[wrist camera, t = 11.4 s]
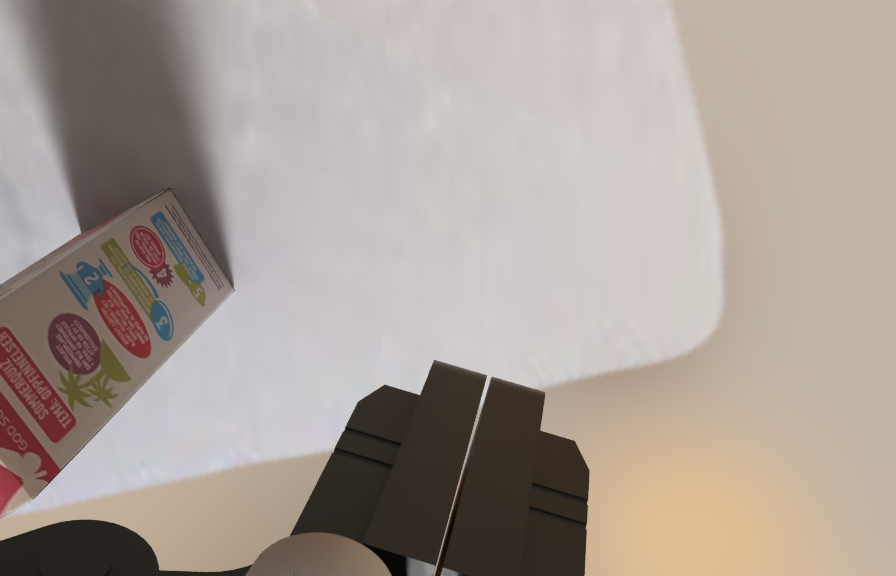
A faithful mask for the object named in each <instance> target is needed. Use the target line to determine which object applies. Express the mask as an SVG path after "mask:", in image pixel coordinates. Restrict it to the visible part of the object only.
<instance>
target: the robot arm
mask: <svg viewBox="0 0 896 576" xmlns="http://www.w3.org/2000/svg"><path fill="white" fill-rule="evenodd" d="M486 378H487V375H484V374H481V373H477V372H474V371H470V370H467V369H464V368H460V367H457V366H453V365H450V364H447V363H443V362H440V361H436V360H434V362H433V364H432V367H431V369H430V372H429V374H428V377H427V379H426V382H425V385H424V387H423V390H422V392H421V395H417V394H414V393H411V392H407V391H404V390H401V389H397V388H394V387H390V386H387V385H384V386H382V387H381V388H379V389H377V390H376V391H374V392H373V393H371V394H370V395H368V396H366V397H365V398H363V399H362V400H360V401H359V402H358V403H357V405H356V407H355V409H354V411H353V413H352V415H351V417H350V419H349V421H348V423H347V425H346V427H345V431H344V432H343V433H342V435H341V437H340V439H339V441H338V443H337V445H336V447H335V450H334V453H332V455H331V456H330V459H329V461H328V463H327V465H326V466H325V468H324V470H323V472H322V474H321V476H320V478H319V480H318V482H317V484H316V486H315V488H314V490H313V492H312V494H311V496H310V498H309V500H308V502H307V504H306V506H305V508H304V509H303V511H302V513H301V515H300V517H299V519H298V521H297V523H296V525H295V527H294V529H293V531H292V533H291V535H290V536H289V537H287V538H284V539H281V540H279V541H277V542H276V543H274V544H272V545H270V546H269V547H268V548H267V549H265V550H264V551H263V552H262V553H261V554H260V556H259V557H258V558H257V559H256V560H255V562H254V563H253V564H252V565H249V566H247V567H243V568H239V569H235V570H229V571H222V572H187V571H160V570H159V565H158V561H157V557H156V555H155V553H154V551H153V550H152V548H151V547H150V545H149V544H148V543H147V542H146V541H145V540H144V539H143V538H142V537H141V536H139V535H138V534H137V533H135V532H133V531H131V530H129V529H128V528H126V527H123V526H120V525H118V524H115V523H109V522H105V521H99V520H72V521H65V522H59V523H56V524H52V525H48V526H45V527H42V528H39V529H36V530H32V531H30V532H26V533H23V534H21V535H17V536H14V537H11V538H8V539H5V540H2V541H0V576H433V574H434V570H435V567H436V563H437V559H438V556H439V552H440V548H441V544H442V541H443V537H444V533H445V530H446V526H447V522H448V519H449V515H450V511H451V507H452V503H453V500H454V496H455V493H456V489H457V485H458V481H459V478H460V474H461V470H462V467H463V463H464V459H465V456H466V452H467V448H468V444H469V441H470V437H471V433H472V430H473V426H474V422H475V418H476V415H477V411H478V407H479V404H480V400H481V396H482V393H483V389H484V385H485V381H486ZM544 399H545V392H542V391H539V390H536V389H532V388H529V387H525V386H522V385H519V384H515V383H512V382H508V381H505V380H502V379H498V378H495V377H492V378H491V381H490V384H489V387H488V390H487V394H486V397H485V400H484V404H483V407H482V410H481V414H480V417H479V421H478V424H477V427H476V431H475V434H474V437H473V441H472V444H471V447H470V451H469V455H468V458H467V461H466V464H465V468H464V471H463V474H462V478H461V482H460V485H459V489H458V492H457V495H456V499H455V502H454V506H453V510H452V514H451V517H450V521H449V525H448V528H447V532H446V536H445V540H444V543H443V547H442V551H441V555H440V558H439V562H438V566H437V570H436V573H435V576H584V575H585V554H586V531H587V530H586V525H587V511H588V505H587V501H588V490H589V469H588V467H587V465H586V463H585V461H584V459H583V457H582V455H581V453H580V451H579V449H578V447H577V445H576V443H575V441H573V440H570V439H566V438H563V437H559V436H556V435H553V434H549V433H546V432H543V431H540V427H541V420H542V413H543V406H544Z"/></svg>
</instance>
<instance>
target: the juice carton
mask: <svg viewBox="0 0 896 576" xmlns="http://www.w3.org/2000/svg"><path fill="white" fill-rule="evenodd" d="M233 291H235V290H234V288H233V287H232V285H231V284H230V282H229V281H228V279H227V277H226V276H225V274H224V273H223V271H222V270H221V268H220V266H219V265H218V263H217V262H216V260H215V259H214V257H213V255H212V254H211V252H210V251H209V249H208V247H207V246H206V244H205V243H204V241H203V240H202V238H201V236H200V235H199V233H198V232H197V230H196V229H195V227H194V225H193V224H192V222H191V221H190V219H189V218H188V216H187V214H186V213H185V211H184V210H183V208H182V206H181V205H180V203H179V202H178V200H177V199H176V197H175V195H174V194H173V192H172V191H171V189H170V188H168V189H166V190H164V191H162V192H160V193H158V194H156V195H154V196H152V197H151V198H149V199H147V200H145V201H143V202H141V203H139V204H137V205H135V206H133V207H131V208H129V209H127V210H125V211H123V212H121V213H120V214H118V215H116V216H114V217H112V218H110V219H108V220H106V221H104V222H102V223H100V224H98V225H96V226H94V227H92V228H90V229H89V230H87V231H85V232H83V233H81V234H79V235H78V236H76V237H75V238H73V239H72V240H70V241H68V242H67V243H65V244H64V245H62V246H61V247H59V248H57V249H56V250H54V251H53V252H51V253H50V254H48V255H46V256H45V257H43V258H42V259H40V260H39V261H37V262H35V263H34V264H32V265H31V266H29V267H28V268H26V269H24V270H23V271H21V272H20V273H18V274H17V275H15V276H14V277H12V278H10V279H9V280H7V281H6V282H4V283H3V284H1V285H0V519H2V518H3V517H5V516H7V515H9V514H10V513H12V512H14V511H15V510H17V509H18V508H20V507H21V506H23V505H25V504H26V503H28V502H30V501H31V500H33V499H34V498H35V497H36V496H37V495H38V494H39V493H40V492H41V491H42V490H43V489H44V488H45V487H46V486H47V485H48V484H49V483H50V482H51V481H52V480H53V479H54V478H55V477H56V476H57V475H58V474H59V473H60V471H61V470H62V469H63V468H64V467H65V466H66V465H67V464H68V463H69V462H70V461H71V460H72V459H73V458H74V457H75V456H76V455H77V454H78V453H79V452H80V451H81V450H82V449H83V447H84V446H85V445H86V444H87V443H88V442H89V441H90V440H91V439H92V438H93V437H94V436H95V435H96V434H97V433H98V432H99V431H100V430H101V429H102V428H103V427H104V426H105V425H106V423H107V422H108V421H109V420H110V419H111V418H112V417H113V416H114V415H115V414H116V413H117V412H118V411H119V410H120V409H121V408H122V407H123V406H124V405H125V404H126V403H127V402H128V400H129V399H130V398H131V397H132V396H133V395H134V394H135V393H136V392H137V391H138V390H139V389H140V388H141V387H142V386H143V385H144V384H145V383H146V382H147V381H148V380H149V379H150V378H151V376H152V375H153V374H154V373H155V372H156V371H157V370H158V369H159V368H160V367H161V366H162V365H163V364H164V363H165V362H166V361H167V360H168V359H169V358H170V357H171V356H172V355H173V354H174V353H175V352H176V351H177V350H178V349H179V348H180V347H181V346H182V345H183V344H184V342H185V341H186V340H187V339H188V338H189V337H190V336H191V335H192V334H193V333H194V332H195V331H196V330H197V329H198V328H199V327H200V326H201V325H202V324H203V323H204V322H205V321H206V320H207V319H208V318H209V317H210V316H211V315H212V314H213V312H214V311H215V310H216V309H217V308H218V307H219V306H220V305H221V304H222V303H223V302H224V301H225V300H226V299H227V298H228V297H229V296H230V295H231V294H232V293H233Z"/></svg>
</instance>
